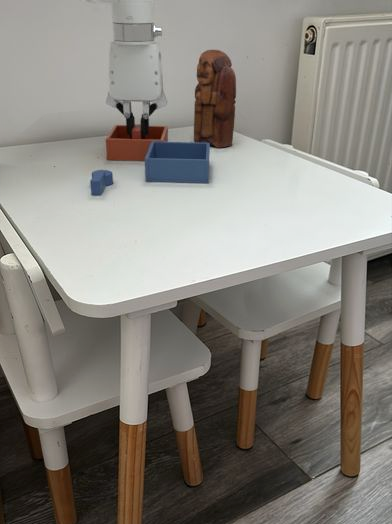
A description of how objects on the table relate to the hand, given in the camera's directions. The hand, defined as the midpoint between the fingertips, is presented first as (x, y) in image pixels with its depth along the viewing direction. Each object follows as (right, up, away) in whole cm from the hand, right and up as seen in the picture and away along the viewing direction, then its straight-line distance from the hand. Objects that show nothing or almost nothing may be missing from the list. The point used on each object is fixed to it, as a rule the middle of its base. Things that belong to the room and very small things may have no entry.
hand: (138, 137), depth 113 cm
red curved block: (0, 0, +1) cm, 1 cm away
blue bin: (+9, -10, -9) cm, 16 cm away
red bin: (0, -2, +2) cm, 3 cm away
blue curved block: (-5, -15, -17) cm, 23 cm away
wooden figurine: (+15, +3, +10) cm, 18 cm away
